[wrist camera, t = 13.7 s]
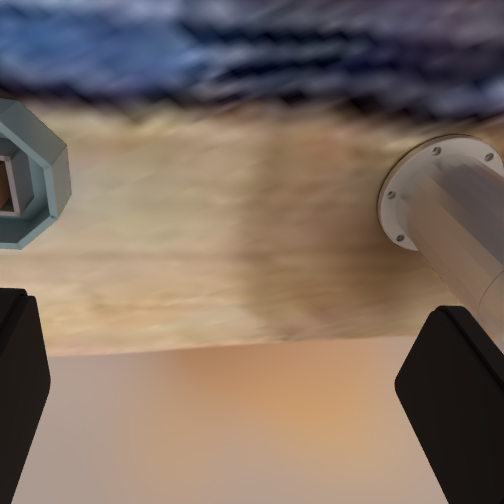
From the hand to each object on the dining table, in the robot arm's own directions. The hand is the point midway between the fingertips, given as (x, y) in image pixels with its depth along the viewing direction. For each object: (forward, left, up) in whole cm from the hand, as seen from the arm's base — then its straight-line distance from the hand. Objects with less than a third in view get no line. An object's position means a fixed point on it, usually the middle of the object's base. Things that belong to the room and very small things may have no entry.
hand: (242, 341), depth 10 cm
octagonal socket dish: (+17, +9, -28) cm, 34 cm away
